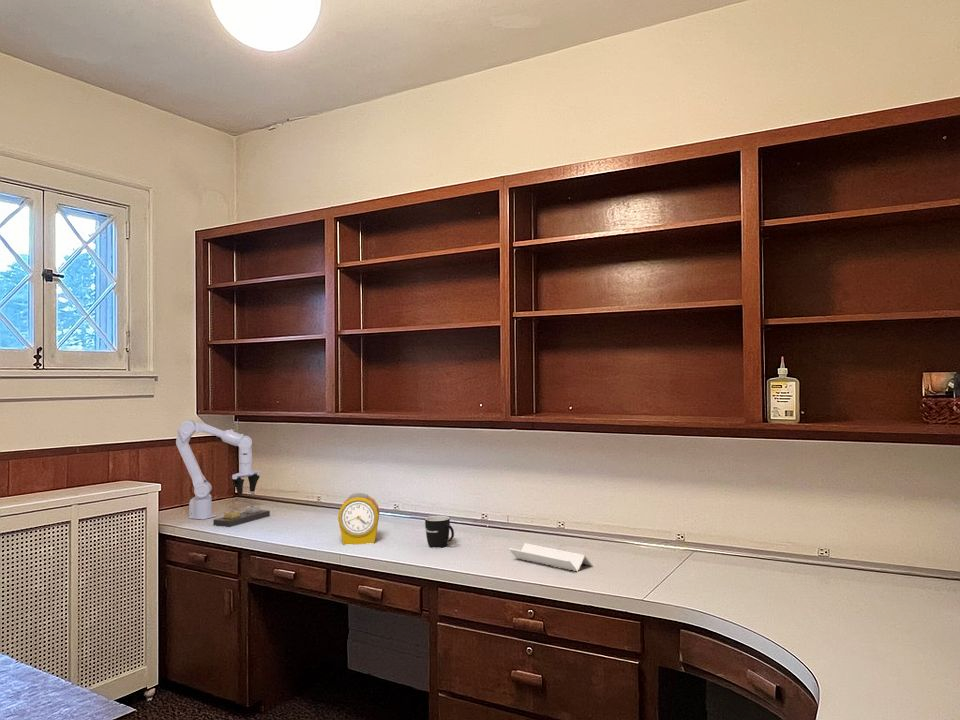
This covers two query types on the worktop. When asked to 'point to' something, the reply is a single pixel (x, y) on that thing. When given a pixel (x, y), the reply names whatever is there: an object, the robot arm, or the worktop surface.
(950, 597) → the worktop surface
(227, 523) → the dark grey socket board
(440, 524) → the mug
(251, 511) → the cube with round knob
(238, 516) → the yellow block with knob
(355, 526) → the alarm clock
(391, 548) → the worktop surface
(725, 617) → the worktop surface
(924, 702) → the worktop surface
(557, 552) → the z bracket
